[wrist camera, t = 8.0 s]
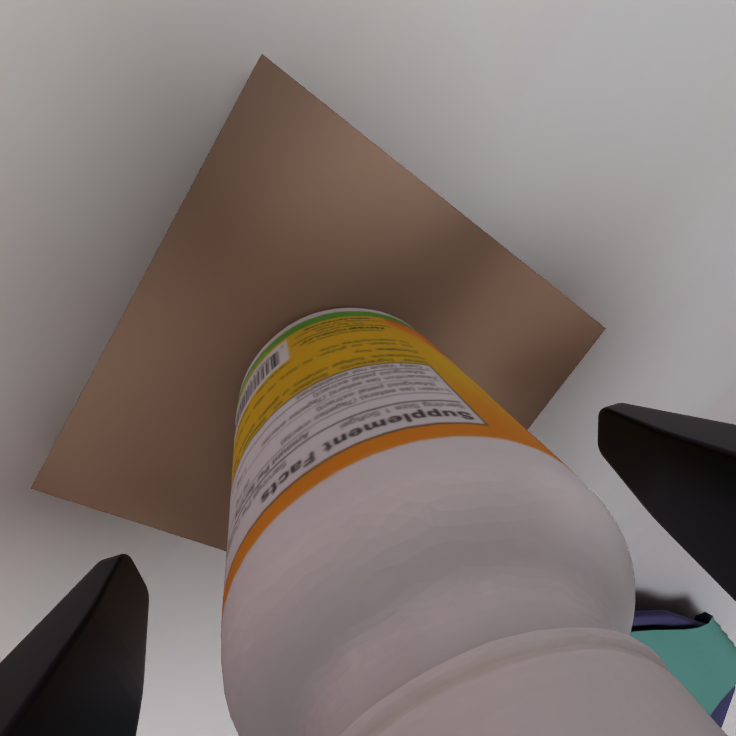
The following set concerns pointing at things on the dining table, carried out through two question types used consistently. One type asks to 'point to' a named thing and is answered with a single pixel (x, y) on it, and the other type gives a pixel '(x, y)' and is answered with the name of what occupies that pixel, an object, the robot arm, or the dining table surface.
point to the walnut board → (291, 306)
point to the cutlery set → (692, 655)
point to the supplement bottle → (420, 558)
